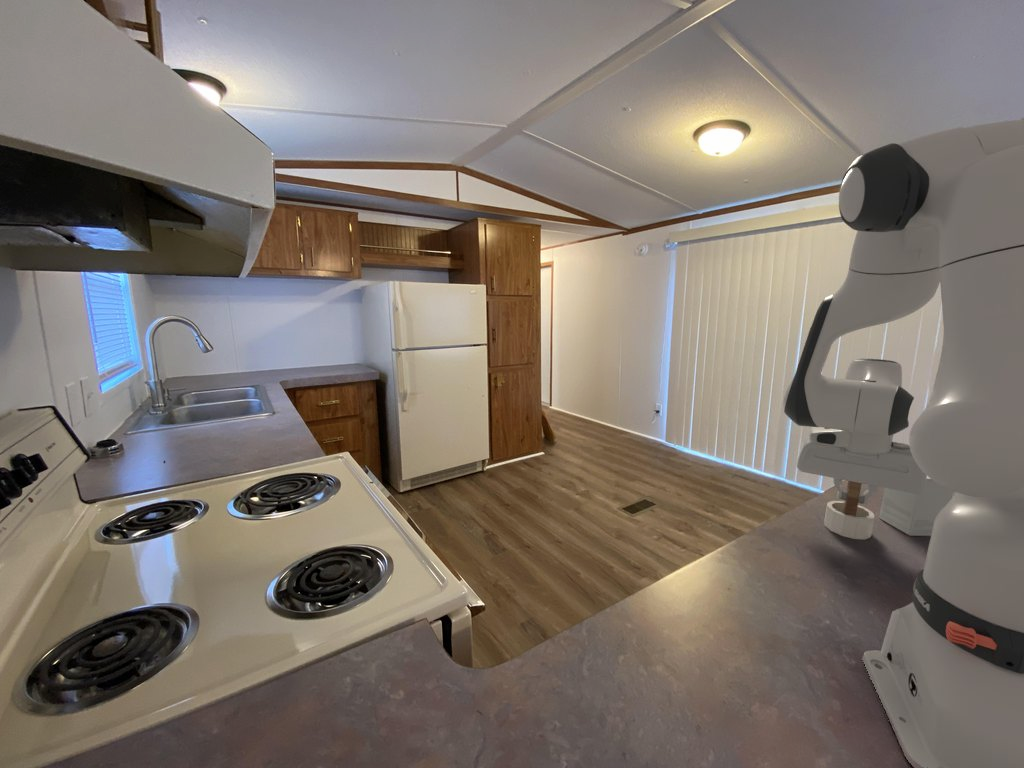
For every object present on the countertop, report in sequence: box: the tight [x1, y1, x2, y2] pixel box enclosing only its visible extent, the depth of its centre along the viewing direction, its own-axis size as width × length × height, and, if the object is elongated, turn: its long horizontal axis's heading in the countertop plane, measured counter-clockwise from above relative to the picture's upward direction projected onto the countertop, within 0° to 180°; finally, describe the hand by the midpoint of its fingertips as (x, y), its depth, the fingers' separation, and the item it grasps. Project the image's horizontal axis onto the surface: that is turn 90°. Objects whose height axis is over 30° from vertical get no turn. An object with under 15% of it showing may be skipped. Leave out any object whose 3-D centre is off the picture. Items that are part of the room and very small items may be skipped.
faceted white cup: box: [823, 500, 875, 540], centre depth 86 cm, size 8×8×4 cm
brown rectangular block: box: [843, 481, 862, 517], centre depth 85 cm, size 3×2×10 cm, turn 144°
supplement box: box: [879, 476, 954, 537], centre depth 86 cm, size 7×7×13 cm
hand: (851, 500), depth 85 cm, fingers closed on brown rectangular block, 2 cm apart
